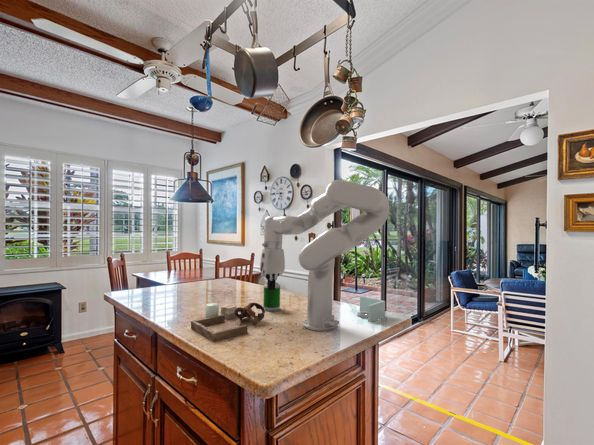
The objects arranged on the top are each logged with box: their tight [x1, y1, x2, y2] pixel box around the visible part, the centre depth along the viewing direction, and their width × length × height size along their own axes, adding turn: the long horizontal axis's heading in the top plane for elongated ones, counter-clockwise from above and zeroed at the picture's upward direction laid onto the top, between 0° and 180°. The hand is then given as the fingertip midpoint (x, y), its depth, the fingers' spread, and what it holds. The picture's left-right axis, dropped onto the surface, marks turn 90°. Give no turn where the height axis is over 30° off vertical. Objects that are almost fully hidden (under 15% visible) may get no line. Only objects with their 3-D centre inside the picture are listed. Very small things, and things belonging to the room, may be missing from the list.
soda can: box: [263, 281, 281, 312], centre depth 140 cm, size 8×8×12 cm
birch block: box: [220, 304, 238, 320], centre depth 127 cm, size 4×4×4 cm
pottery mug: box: [234, 302, 266, 325], centre depth 121 cm, size 12×10×8 cm
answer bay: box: [190, 314, 248, 342], centre depth 111 cm, size 17×13×3 cm
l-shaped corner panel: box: [356, 295, 386, 323], centre depth 131 cm, size 12×12×8 cm
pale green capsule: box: [205, 302, 220, 318], centre depth 123 cm, size 5×5×6 cm
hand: (271, 289), depth 128 cm, fingers closed
